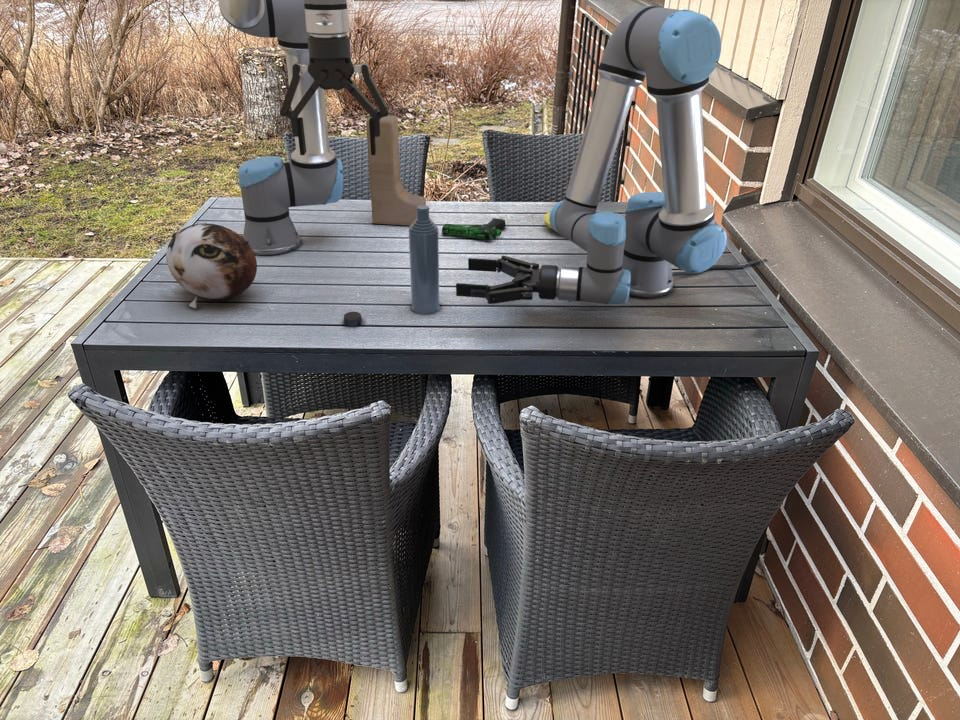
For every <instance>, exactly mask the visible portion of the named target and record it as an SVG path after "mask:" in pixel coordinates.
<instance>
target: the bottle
mask: <svg viewBox="0 0 960 720" xmlns="http://www.w3.org/2000/svg"><path fill="white" fill-rule="evenodd" d="M416 210H417V218H416V219H415V220H414V222H413V223H412V225H410V226H409V227H408V246H409V247H408V249H409V251H408V252H409V270H410V271H409V273H410V275H409V278H410V298H411V299H410V300H411V303H410V304H411V310H412V311H413V312H414V313H416V314H421V315H429V314H434V313H436V312H438V311H439V310H440V307H441V306H440V250H439V249H440V246H439V243H440V242H439V240H440V239H439V228H438V225H437V224H436V223H435V221H433V219H431V217H430V207H429V205H427V204H426V205H420V206H417V209H416Z"/></svg>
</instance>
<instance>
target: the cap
mask: <svg viewBox="0 0 960 720" xmlns="http://www.w3.org/2000/svg"><path fill="white" fill-rule="evenodd" d="M362 322H363V317H362V314H361V312H358V311H347V312H346V313H344V315H343V323H344V325H345V327H349V328H355V327H358V326H360V325H362Z"/></svg>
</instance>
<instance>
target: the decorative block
mask: <svg viewBox="0 0 960 720" xmlns="http://www.w3.org/2000/svg"><path fill="white" fill-rule="evenodd" d="M370 118H372V117H371V116H370V117H368V118H367V119H366V120H365V129H366V142H367V145H366V146H367V158H368V172H369V190H370V203H371V219H372V220H371V221H372V223H373V224H376V225H377V224H379V225H391V226H392V225H393V226H409V227H410V225H412V223H413V222H414V220H415V219H416V218H417V210H416V209H417V206H420V205H426V206H427V200H426V199H427V198H426V197H424V196H423V195H422V196H421V195H417V194H412V193H410V192H409V191H408V190H406V189H405V186H404V184H403V182H402V180H401V163H400V161H401V160H400V138H399V120H398V118H399V117H397V116H396V115H390V114H388V116H386V117H382V118H381V119H380V131H381V133H380V136H379V137H375V143H376V154H375V155H371V145H370V129H369V119H370Z"/></svg>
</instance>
